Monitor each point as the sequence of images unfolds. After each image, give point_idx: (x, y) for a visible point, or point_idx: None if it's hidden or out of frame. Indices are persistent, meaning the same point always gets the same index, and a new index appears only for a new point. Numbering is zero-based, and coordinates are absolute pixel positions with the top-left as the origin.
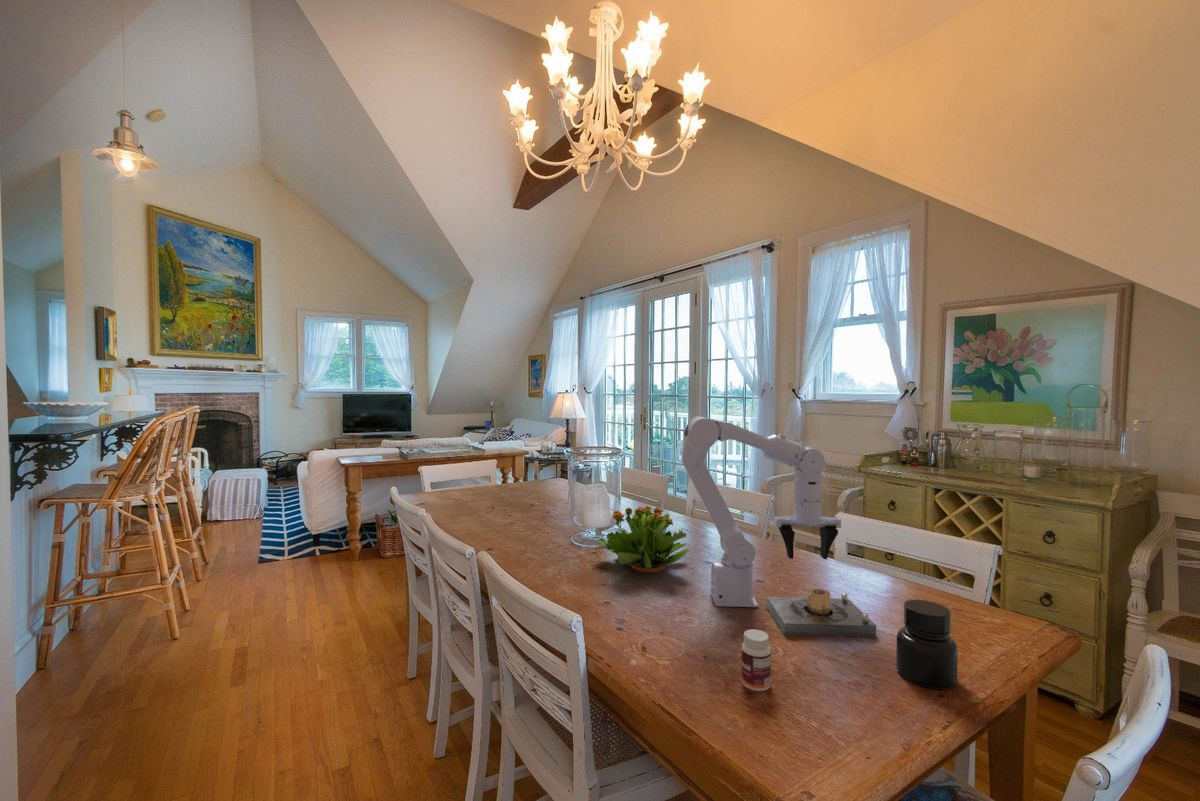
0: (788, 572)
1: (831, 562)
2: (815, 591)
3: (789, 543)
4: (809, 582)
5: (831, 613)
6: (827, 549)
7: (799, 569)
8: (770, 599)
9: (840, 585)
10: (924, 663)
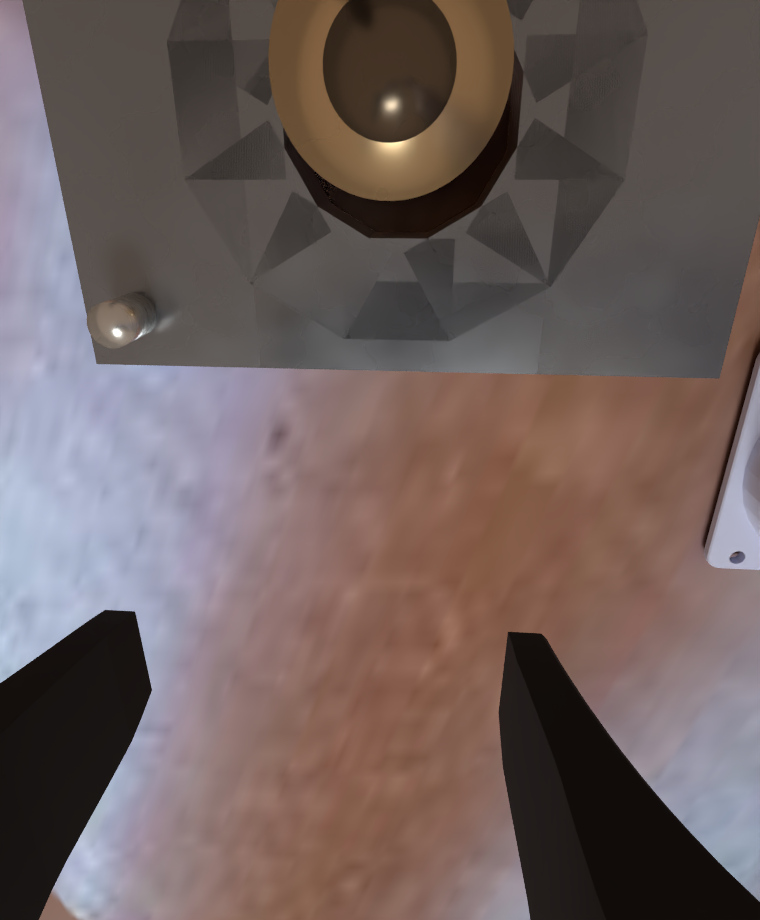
0: (335, 805)
1: (84, 887)
2: (425, 76)
3: (639, 805)
4: (261, 697)
5: None
6: (20, 687)
7: (265, 832)
8: (715, 329)
9: None
10: None
